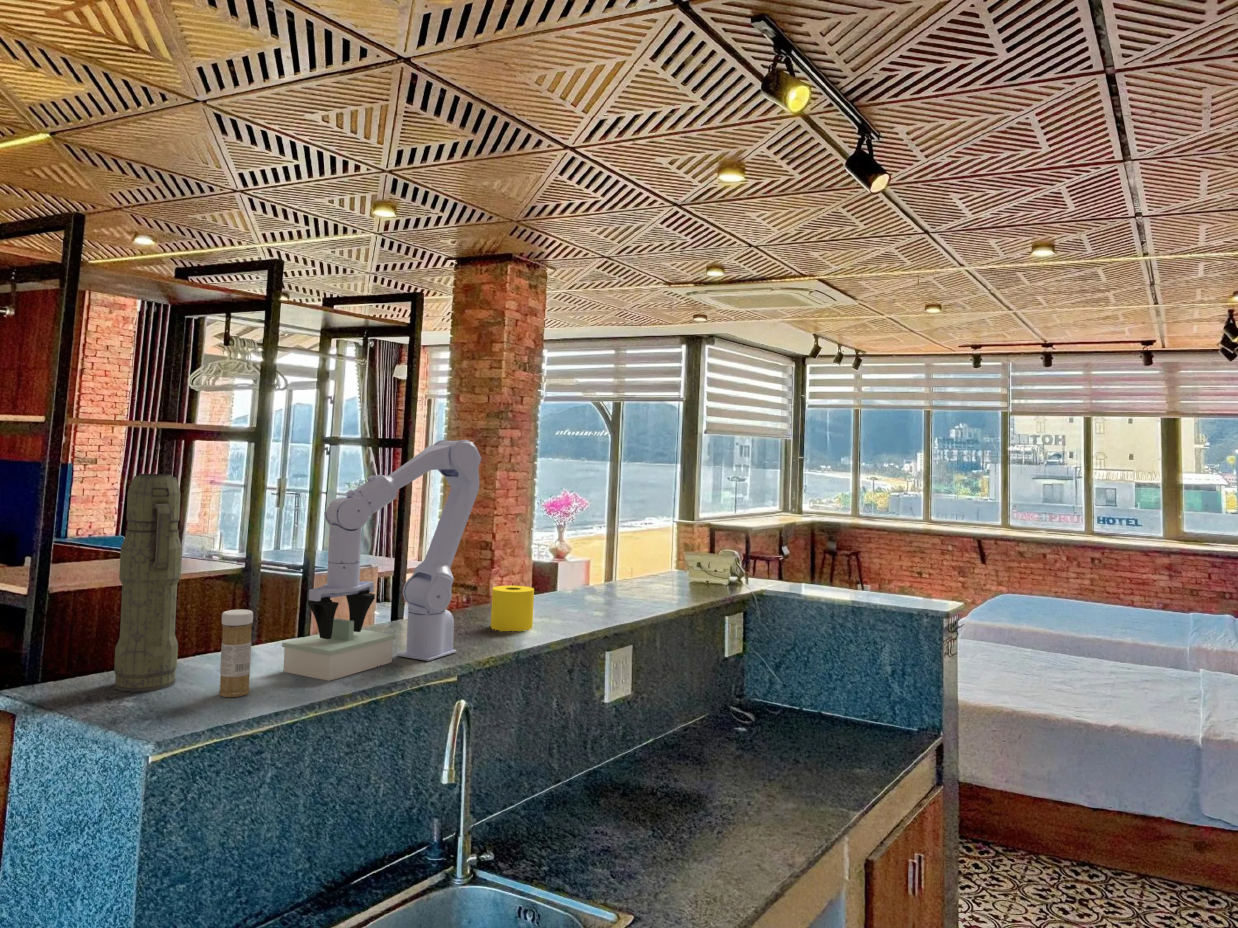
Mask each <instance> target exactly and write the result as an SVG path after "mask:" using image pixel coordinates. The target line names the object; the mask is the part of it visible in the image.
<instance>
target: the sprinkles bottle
mask: <svg viewBox="0 0 1238 928" xmlns="http://www.w3.org/2000/svg"><path fill="white" fill-rule="evenodd" d="M253 622H254V612H253V611H252V610H250V609H231V610H230V609H229V610H226V611H223V612H222V614H221V624H222V625H221V626H222V638H221V651H220V668H219V669H220V670H219V672H220V673H219V675H220V681H219V692H218V694H219V696H221V697H224V698H240V697H243V696H245V695H248V694H249V693H250V676H251V675H250V673H251V658H252V657H251V656H252V655H251V654H252V627H253Z"/></svg>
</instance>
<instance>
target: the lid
mask: <svg viewBox="0 0 1238 928" xmlns="http://www.w3.org/2000/svg"><path fill="white" fill-rule="evenodd" d="M395 639H396V634H391V633H385V632H380V631H373V630H367V629H361V632H354V621H352V620H349V619H344V618H339V617H337V618H336V617H334V620H333V630H332V636H331V639H323V638H320V635H319V634H315V635H310V636H306V637H300V638H298V639H291V640H287V641H283V642H282V643H281V647H282V648H284V649H285V648H291V649H296V650H302V651H307V652H313V653H319V654H324V655H330V656H331V655H335V654H339V653H343V652H346V651H350V650H354V649H358V648H362V647H366V646H370V645H374V644H377V643H381V642H385V641H389V640H395Z"/></svg>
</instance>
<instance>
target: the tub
mask: <svg viewBox="0 0 1238 928" xmlns="http://www.w3.org/2000/svg"><path fill="white" fill-rule="evenodd" d="M393 640H394V639H393ZM393 640H389V641H385V642H381V643H377V644H374V645H370V646H366V647H362V648H358V649H354V650H350V651H346V652H343V653H339V654H335V655H331V656H330V655H324V654H319V653H313V652H307V651H302V650H296V649H291V648H285V647H284V650H283V651H284V654H283V673H288V674H293V675H296V676H297V675H298V676H303V677H307V678H312V679H318V680H323V681H327V682H328V681H329V682H330V681H334V680H337V679H339V678H340V679H341V678H343V677H347V676H350V675H353V674H356V673H360V672H363V671H366V670H370V669H374V668H376V667H377V666H378V667H381V666H384V665H388V664H390V663H391V664H392V660H393V643H394V642H393ZM380 665H381V666H380Z"/></svg>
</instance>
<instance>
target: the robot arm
mask: <svg viewBox="0 0 1238 928" xmlns="http://www.w3.org/2000/svg"><path fill="white" fill-rule="evenodd" d="M481 461H482V456H481V454H480V452H479V450H478V448H477V446H476V445H475V443H474V442H472V441H470V440H468V439H460V440H447V439H441V440H438V441H436V442H435V443H434V444H431V445H428V446H426V447H425V448H424V449H423V450H422V451H420V453H417V455H415V456H414V457H412V458H411V459H409V460H408V461H406V463H404V464H403V465H401V466H400V467H398V468H397V469H395V470H394V471H393V472H391V473H390V474H389V475H383V474H377V475H368V477H367V478H366V480H367V481H366V482H365V483H363V484H361V485H360V486H358V487H357V488H356V489H354V490H353V489H349V490H348V491H346V497H338V498H334V499H333V500H332V501H331V502H330V503H329V504H328V506H327V507H326V508H327V509H326V511H324V518H325V519H324V520H325V521H326V522H327V524H328V525H329V534H328V535H329V536H328V550H327V551H328V552H327V572H326V573H327V574H326V575H327V576H326V583H324V584H323V586H319V587H315V588H311V589H309V590H308V599H307V600H308V602H307V605H308V606H309V609H310V610H311V612H312V614H313V617H314V619H315V621H316V625H317V631H318V633H319V635H320V638H323V639H331V636H332V630H333V620H334V618H335V615H336V611H337V609H338V606H339V604H340V602H338V601H337V602H336V601H333V600H332V598H338V597H344V596H345V597H346V601H347V605H348V613H349V615H348V617H349V619H348V620H352V621H354V632H361V630H363V629H362V628H363V625H364V622H365V618H366V616H367V613H368V611H369V609H370V606H371V605H372V604H373V602H374V601H375V599H376V594H375V593H374V591H375V582H374V581H372V580H371V581H369V580H363V581H362V580H361V581H360V576H361V575H360V572H361V549H362V546H361V544H362V527H364V526H365V525H366V524H367V521H368V518H369V517H371V516H372V515H373V514H375V513H376V512H378V511H380V510H381V509H383V508H384V507H385V506H387V505H389V504H390V503H392V502H393V501H394V500H396V499H397V496H398V491H399V490H400V489H401V488H403V487H405V486H407V485H409V484H410V483H412V482H414V481H415V480H416V479H418V478H420V477H421V476H423V475H425V474H427V473H428V472H430V471H433V470H434V471H436V470H437V471H438V472H439V473H440V474H441V475H442V476H443V477H444V478H445V479H446V481H447V483H448V485H449V487H450V491H449V492H448V493H449V494H448V496H447V499H446V502H445V505H444V507H443V509H442V512H441V515H440V517H439V520H438V523H437V525H436V529H435V531H434V533H433V536H432V538H431V540H430V541H431V542H430V544H429V547H428V550H427V553H426V555H425V557H424V559H423V560H422V562H421V563H420V564H418V565H417V566H416V567H415V568H414V570H413V573H412V575H411V576H410V577H409V578H408V579H407V581H406V582H405V583H404V584H403V587H402V588H403V589H402V595H403V599H404V600H405V602H406V603H407V625H406V626H407V627H406V628H407V629H406V648H405V649H406V650H404V651H401V652H397V653H396V656H397V657H402V658H409V659H413V660H421V661H426V662H429V661H433V660H435V659H438V658H442V657H446V656H448V655H451V654H454V653H457V649H454V636H455V635H454V633H455V619H454V616H453V614H452V613H451V611H449V610H448V609H446V608H447V607H448V606H450V604H451V601H452V598H453V595H452V594H453V592H452V591H453V590H452V587H453V582H454V579H455V578H454V575H453V573H452V571H451V567H452V564H453V562H454V559H455V557H456V553H457V551H458V548H459V544H460V542H461V540H462V536H463V534H464V532H465V529H466V526H467V523H468V520H469V518H470V516H471V512H472V509H473V507H474V503H475V501H476V498H477V496H478V493H479V490H480V470H479V469H480V468H479V467H480V464H481ZM372 592H373V593H372Z"/></svg>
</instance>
